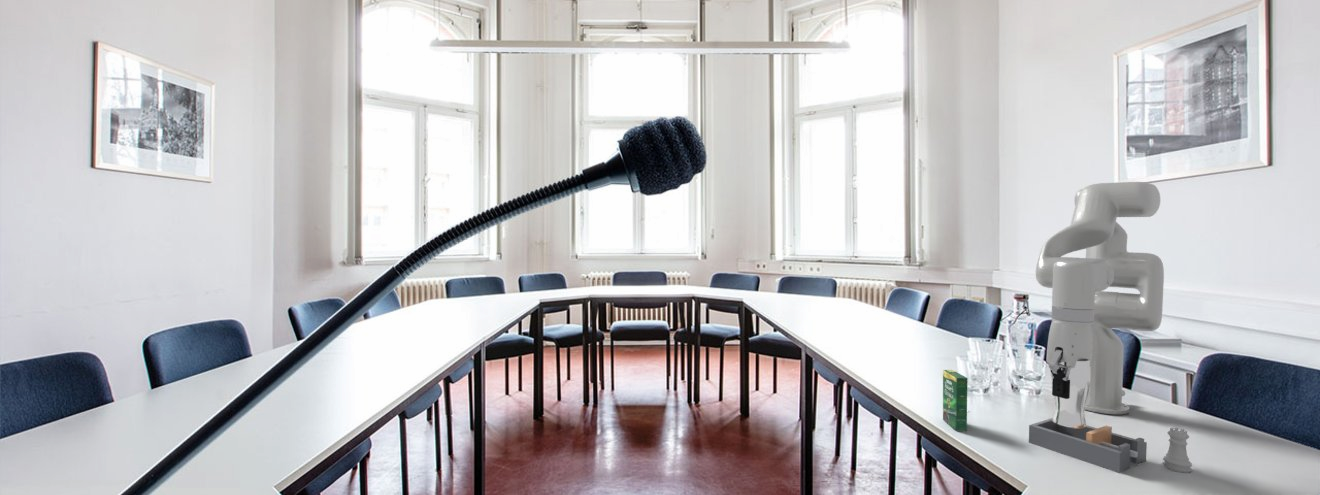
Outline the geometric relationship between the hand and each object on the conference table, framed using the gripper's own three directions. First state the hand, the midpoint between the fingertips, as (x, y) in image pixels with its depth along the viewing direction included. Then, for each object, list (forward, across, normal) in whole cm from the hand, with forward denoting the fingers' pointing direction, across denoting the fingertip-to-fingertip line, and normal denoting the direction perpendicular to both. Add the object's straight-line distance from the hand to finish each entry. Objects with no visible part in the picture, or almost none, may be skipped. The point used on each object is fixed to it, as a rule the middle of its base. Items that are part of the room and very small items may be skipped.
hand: (1069, 394), depth 120 cm
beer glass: (+7, 0, 0) cm, 7 cm away
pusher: (+11, 0, +9) cm, 14 cm away
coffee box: (+12, +11, -20) cm, 26 cm away
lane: (+12, 0, +3) cm, 12 cm away
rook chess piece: (+12, -7, +16) cm, 21 cm away
